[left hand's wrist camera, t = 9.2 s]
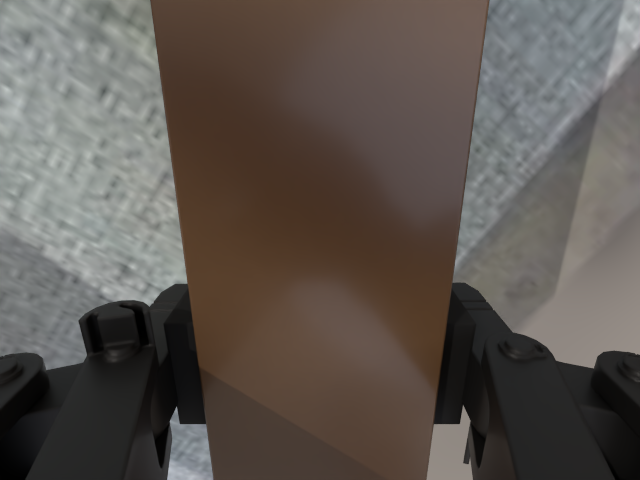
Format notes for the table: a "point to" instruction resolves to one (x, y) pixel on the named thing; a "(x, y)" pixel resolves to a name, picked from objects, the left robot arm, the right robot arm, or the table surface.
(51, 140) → the table surface
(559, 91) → the table surface
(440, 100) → the post
